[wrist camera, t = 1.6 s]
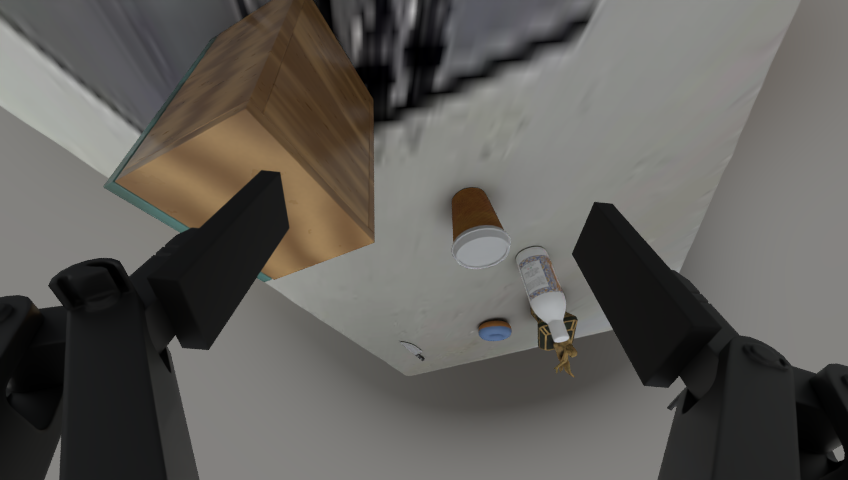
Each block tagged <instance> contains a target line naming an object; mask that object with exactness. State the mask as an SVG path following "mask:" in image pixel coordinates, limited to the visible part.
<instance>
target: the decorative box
mask: <svg viewBox="0 0 848 480" xmlns="http://www.w3.org/2000/svg"><path fill="white" fill-rule="evenodd" d="M531 315H532V316H533V317H534V318H535V319H536V320H537V322H538V346H539V348H540V349H543V350H548V351H549V350H554V349H555V350H556V353H557V356H558V359H559V361H560V364H559V365H558V366H557V367H555V368H554V369H556V373H557V372H558V367H559V370H560V372H561V371H562V370H563V367H564V368H565V371H566V372H567V373H568V374H569V375H571V376H573V374H572V373H571V371H570V364H569V361H568V354H569V355H570V357H574V356H576V355H577V351H576V349H575V348H574V347H573V345H572V343H573V339H574V335H575V330H576V325H577V318H576V316H574V315H572V314H569V313H567V312H566V311H565V314H564V318H563V322H564V325H565V327H566V330H567V333H568V335H569V339H568V340H567V341H564V342H559V343H557V342H554V340H553V338H552V335H551V332H550V329H549V326H548V324H547V323H546V322H544V321H543V320H542V319H541V318H539V317H538V316H537V315H536V314H535V312H534V311H533V309H532V307H531ZM573 377H574V376H573Z"/></svg>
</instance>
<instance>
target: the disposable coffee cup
mask: <svg viewBox="0 0 848 480" xmlns="http://www.w3.org/2000/svg"><path fill="white" fill-rule="evenodd" d="M452 220H453V245H452V255H453V257H454V258H455V259H456V260H457V262H458V264H460V265H461V266H463V267H465V268H470V269H483V268H487V267H491V266H494V265H496V264H498V263H499V262H501V261H502V260H504V259H505V258H506V256H507V255H508V254H509V250H510V245H511V239H510V236H509V235H508V234H507V233H506V232H505V231H504V229H503V227H502V225H501V223H500V221H499V219H498V217H497V215H496V213H495V211H494V209H493V207H492V205H491V203H490V201H489V199H488V197H487V195H486V194H485V192H484V191H483V190H481V189H479V188H466V189H463V190H461V191H459V192H458V193H457V194H456V195H455V196H454V197H453V199H452Z"/></svg>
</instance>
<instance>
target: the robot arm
mask: <svg viewBox="0 0 848 480" xmlns="http://www.w3.org/2000/svg"><path fill="white" fill-rule="evenodd" d="M289 228H290V227H289V221H288V215H287V209H286V203H285V197H284V191H283V185H282V179H281V174H280V172H276V171H266V170H261V171H260V172H259V173H258V174H257V175H256V176H255V177H253V178H252V179H251V180H250V181H249V182H248V183H247V184H246V185H245V186H244V187H243V188H242V189H241V190H240V191H238V192H237V193H236V194H235V195H234V196H233V197H232V198H231V199H230V200H229V201H228V202H227V203H226V204H225V205H223V206H222V207H221V208H220V209H219V210H218V211H217V212H216V213H215V214H214V215H213V216H212V217H211V218H210V219H208V220H207V221H206V222H205V223H204V224H203V225H202V226H201V227H200V228H194V227H192V228H190V229H188V230H186V231H184V232H182V233H180V234H178V235H176V236H175V237H174V238H173V239H171V240H170V241H169V242H168V243H167V244H166V245H165V247H162V248H161V249H160V250H159V251H158V252H157V253H156V255H153V256H152V257H151V258H150V259H149V260H147V261H146V262H145V263H144V264H143V265H142V266H141V267H140V268H138V269H137V270H136V271H135V272H134V273H133V274H132V275H131V276H128V275H127V273H126V271H125V269H124V267H123V266H122V264H121V263H120V261H118V260H115V259H112V258H98V259H92V260H87V261H84V262H81V263H78V264H75V265H72V266H70V267H68V268H66V269H65V270H62V271H61V272H59V273H58V274H57V275H56V276H54V277H53V278H52V279H51V281H50V283H49V285H48V286H49V287H50V289H51V290H52V291H53V293H54V294H55V295H56V297H57V298H58V299H59V301H60V302H61V303H62V305H63V306H58V307H50V308H42V309H38V308H37V307H36V306H35V305H34V303H33V302H32V301H31V300H30V299H29V298H28V297H25V296H20V295H16V296H5V297H0V480H44V479H45V476H46V474H47V471H48V468H49V466H50V463H51V460H52V457H53V455H54V452H55V450H56V447H57V444H58V442H59V439H60V436H61V455H60V479H59V480H199V476H198V471H197V467H196V463H195V459H194V454H193V450H192V445H191V440H190V436H189V432H188V427H187V424H186V418H185V414H184V410H183V406H182V401H181V396H180V392H179V388H178V384H177V379H176V375H175V370H174V366H173V362H172V357H171V353H170V351H169V349H168V347H167V345H168V344H169V342H170V341H171V340H172V339H173V337H174V336H175V335H176V337H177V339H178V340H179V342H180V344H181V346H182V348H190V349H202V350H209V349H210V347H211V346H212V344H213V343H214V341H215V339H216V338H217V337H218V335H219V334H220V332H221V331H222V329H223V327H224V326H225V325H226V323H227V322H228V320H229V319H230V317H231V316H232V314H233V312H234V311H235V309H236V308H237V306H238V305H239V303H240V302H241V300H242V299H243V297H244V296H245V294H246V293H247V291H248V290H249V288H250V287H251V285H252V284H253V282H254V281H255V279H256V278H257V276H258V275H259V273H260V272H261V270H262V269H263V267H264V266H265V264H266V263H267V261H268V260H269V258H270V257H271V255H272V254H273V252H274V251H275V249H276V248H277V246H278V245H279V243H280V242H281V240H282V239H283V237H284V236H285V234H286V233H287V231H288V230H289ZM572 255H573V257H574V259H575V260H576V262H577V264H578V266H579V268H580V270H581V271H582V273H583V275H584V277H585V279H586V281H587V282H588V284H589V286H590V288H591V290H592V292H593V293H594V295H595V297H596V299H597V301H598V303H599V304H600V306H601V308H602V310H603V312H604V314H605V315H606V317H607V319H608V321H609V323H610V325H611V326H612V328H613V330H614V332H615V334H616V336H617V337H618V339H619V341H620V343H621V345H622V347H623V348H624V350H625V352H626V354H627V356H628V358H629V359H630V361H631V363H632V365H633V367H634V368H635V370H636V372H637V374H638V376H639V378H640V379H641V381H642V383H643V385H644V386H654V387H665V388H668V387H669V386H670V385H671V384H672V383H673V382H674V381H675V380H676V378H678V376H680V377H681V379H682V380H683V382H684V383H685V385H686V388H685V389H684V390H683V391H682V392H681V393H680V394H679V395H678V396H677V397H676V398H675V399H674V400H673V401H672V402H671V403H670V405H669V406H668V407H667V408H668V409H670V410H672V409H673V408H674V407H675V406H677V408H676V412H675V415H674V419H673V423H672V427H671V431H670V434H669V438H668V442H667V446H666V450H665V453H664V457H663V462H662V465H661V469H660V472H659V476H658V480H848V366H844V365H840V364H829V365H827V366H826V367H825V368H823V369H822V370H821V371H819V372H818V373H817V374H816V373H813V372H809V371H806V370H803V369H800V368H797V367H793V366H791V364H790V363H789V362H788V361H787V360H786V359H785V357H784V356H783V355H781V354H780V353H779V352H777V351H776V350H775V349H773V348H772V347H770V346H769V345H767V344H765V343H763V342H761V341H759V340H756V339H754V338H751V337H746V336H740V335H739V334H738V333H737V332H736V331H735V330H734V329H733V328H732V327H731V326H730V325H729V323H728V322H727V321H726V320H725V319H724V318H723V317H722V316H721V315H720V313H719V312H718V311H717V310H716V309H715V308H714V307H713V306H712V305H711V304H709V303H708V300H707V299H706V298H705V297H704V296H703V295H702V294H700V292H699V291H698V290H697V288H696V287H695V286H694V285H693V284H692V283H691V282H690V281H689V280H688V279H686V278H685V277H683V276H682V275H680V274H679V273H678V272H676V271H675V270H671V269H670V268H669V267H668V266H667V265H666V264H665V263H664V261H663V260H662V259H661V258H660V257H659V256H658V255H657V254H656V252H655V251H654V250H653V249H652V248H651V247H650V246H649V245H648V243H647V242H646V241H645V240H644V239H643V238H642V237H641V236H640V234H639V233H638V232H637V231H636V230H635V229H634V228H633V227H632V225H631V224H630V223H629V222H628V221H627V220H626V219H625V218H624V216H623V215H622V214H621V213H620V212H619V211H618V210H617V209H616V207H615V206H614V205H613V204H609V203H599V202H594V204H593V206H592V209H591V211H590V213H589V216H588V218H587V220H586V223H585V225H584V227H583V230H582V232H581V234H580V236H579V239H578V241H577V243H576V246H575V248H574V250H573V253H572ZM841 445H842V446H843V449H844V452H845V457H844V460H842V461H839V462H838V461H837V459H836V458H835V455H834V453H833V451H832V450H834V449H835V448H837V447H839V446H841Z"/></svg>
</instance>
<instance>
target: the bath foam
mask: <svg viewBox="0 0 848 480" xmlns="http://www.w3.org/2000/svg"><path fill="white" fill-rule="evenodd" d="M516 262H517V265H518V268H519V271H520V275H521V278H522V281H523V284H524V287H525V290H526V293H527V296H528V299H529V302H530V305H531V307H532V309H533V311H534V312H535V314H536V315H537V316H538V317H539V318H541V319H542V320H543V321H544V322H546V323H547V324H548V326H549V329H550V332H551V335H552V338H553V340H554V342H557V343H559V342H564V341H567V340H568V339H569V335H568V333H567V330H566V327H565V325H564V322H563V318H564V314H565V310H566V300H565V296H564V293H563V291H562V288H561V286H560V283H559V281H558V278H557V276H556V273H555V271H554V268H553V266H552V263H551V261H550V259H549V256H548V254H547V252H546V250H545V249H544V248H542V247H530V248H527V249H524V250H523V251H521V252H520V253H519V254H518V255H517V257H516Z"/></svg>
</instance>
